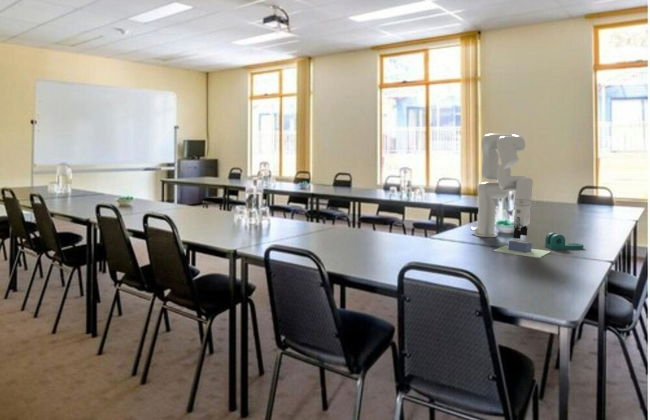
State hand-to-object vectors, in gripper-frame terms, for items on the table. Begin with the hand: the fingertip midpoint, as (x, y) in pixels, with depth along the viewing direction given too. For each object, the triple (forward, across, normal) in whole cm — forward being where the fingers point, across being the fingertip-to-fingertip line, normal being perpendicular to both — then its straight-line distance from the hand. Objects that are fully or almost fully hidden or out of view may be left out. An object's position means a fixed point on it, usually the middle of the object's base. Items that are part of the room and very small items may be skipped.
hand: (520, 236), depth 234 cm
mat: (+7, 0, -2) cm, 7 cm away
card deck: (+7, 0, 0) cm, 7 cm away
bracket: (+8, +24, -15) cm, 30 cm away
